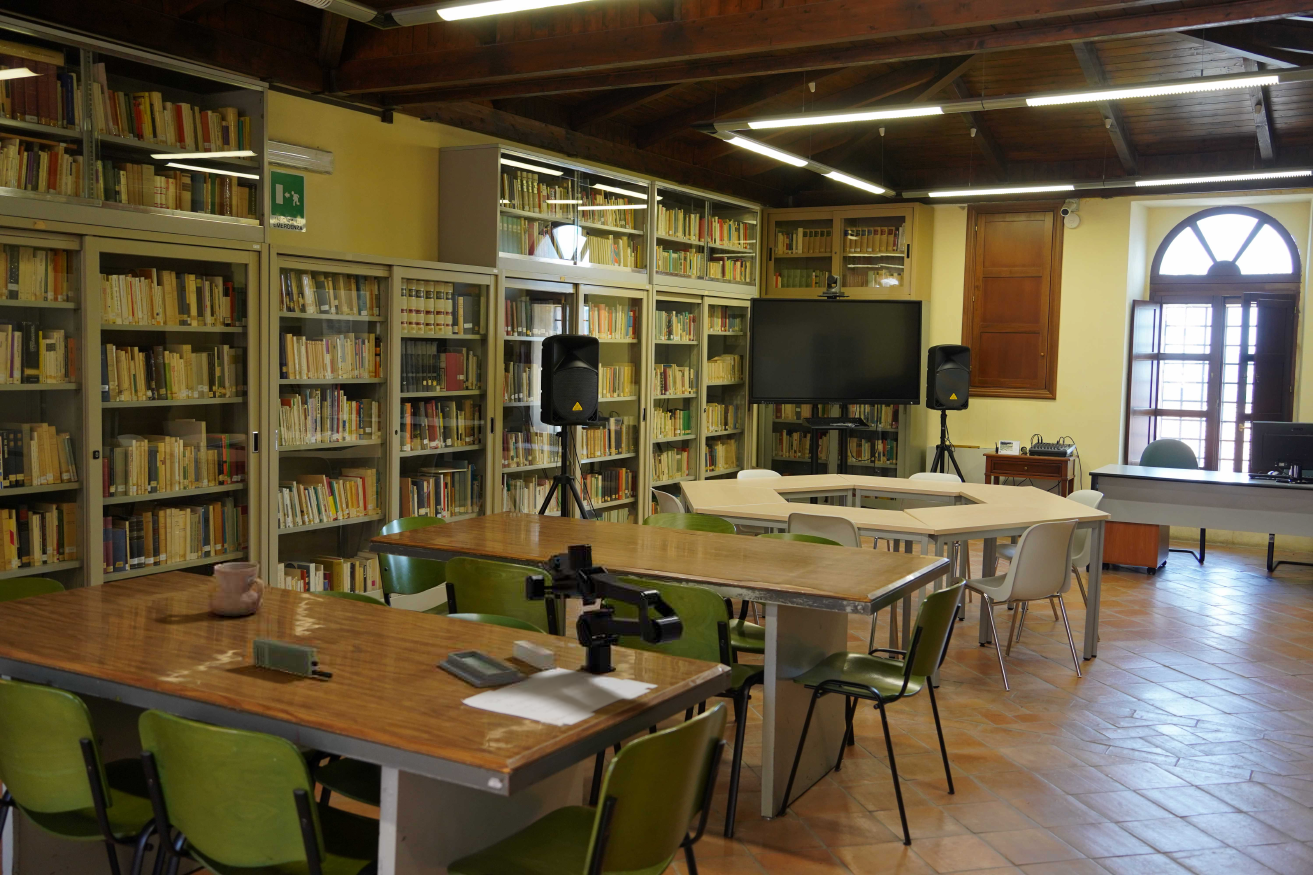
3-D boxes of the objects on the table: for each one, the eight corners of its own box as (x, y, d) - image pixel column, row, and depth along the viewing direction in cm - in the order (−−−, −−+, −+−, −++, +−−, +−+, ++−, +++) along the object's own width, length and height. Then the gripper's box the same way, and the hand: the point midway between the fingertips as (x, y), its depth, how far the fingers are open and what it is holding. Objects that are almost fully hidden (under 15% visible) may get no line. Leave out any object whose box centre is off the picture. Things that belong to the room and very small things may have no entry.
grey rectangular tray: (526, 679, 245) (526, 668, 245) (479, 687, 238) (479, 676, 238) (483, 658, 263) (483, 648, 263) (438, 665, 256) (438, 654, 256)
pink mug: (194, 615, 305) (195, 566, 304) (233, 605, 318) (233, 558, 317) (242, 623, 297) (242, 573, 296) (279, 613, 311) (280, 565, 310)
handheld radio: (262, 663, 255) (337, 679, 243) (251, 667, 253) (325, 683, 240) (262, 636, 255) (336, 650, 242) (250, 639, 252) (325, 654, 239)
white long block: (553, 669, 256) (554, 652, 255) (542, 671, 254) (543, 654, 254) (524, 655, 268) (524, 640, 268) (513, 657, 266) (514, 641, 266)
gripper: (605, 553, 269) (570, 556, 281) (543, 553, 257) (509, 557, 269) (606, 598, 267) (571, 599, 279) (544, 600, 256) (510, 601, 267)
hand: (541, 588), depth 274 cm, fingers open, 9 cm apart
